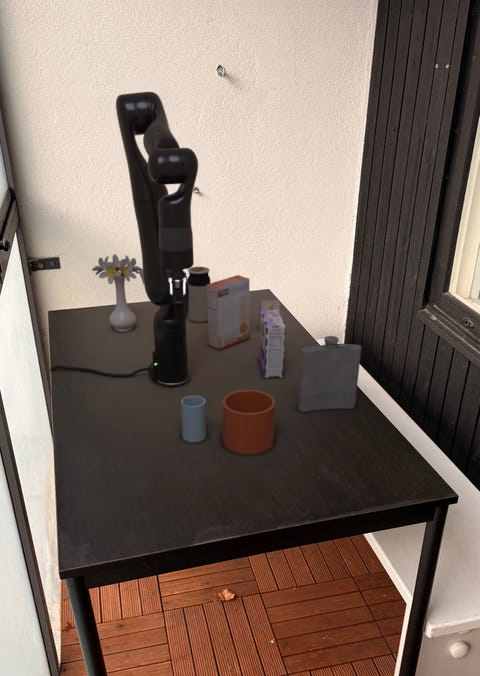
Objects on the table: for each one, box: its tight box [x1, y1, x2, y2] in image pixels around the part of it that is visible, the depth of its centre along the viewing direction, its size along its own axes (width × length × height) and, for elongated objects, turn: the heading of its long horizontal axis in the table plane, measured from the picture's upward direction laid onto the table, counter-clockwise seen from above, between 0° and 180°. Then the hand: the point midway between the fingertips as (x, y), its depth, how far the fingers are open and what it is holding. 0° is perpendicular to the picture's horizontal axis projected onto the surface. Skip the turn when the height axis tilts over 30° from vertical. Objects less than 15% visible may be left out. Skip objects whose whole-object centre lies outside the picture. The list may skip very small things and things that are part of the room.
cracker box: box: [207, 274, 250, 350], centre depth 210 cm, size 14×6×21 cm, turn 134°
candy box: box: [259, 310, 286, 379], centre depth 193 cm, size 14×6×16 cm, turn 5°
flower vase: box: [91, 254, 144, 333], centre depth 219 cm, size 13×18×25 cm
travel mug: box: [187, 266, 211, 323], centre depth 229 cm, size 8×8×18 cm
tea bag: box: [258, 299, 281, 330], centre depth 223 cm, size 4×7×10 cm, turn 98°
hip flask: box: [297, 335, 362, 413], centre depth 171 cm, size 16×4×20 cm, turn 99°
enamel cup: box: [180, 394, 207, 443], centre depth 160 cm, size 6×6×10 cm
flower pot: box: [221, 389, 276, 455], centre depth 158 cm, size 13×13×11 cm
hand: (179, 314), depth 152 cm, fingers open, 8 cm apart
